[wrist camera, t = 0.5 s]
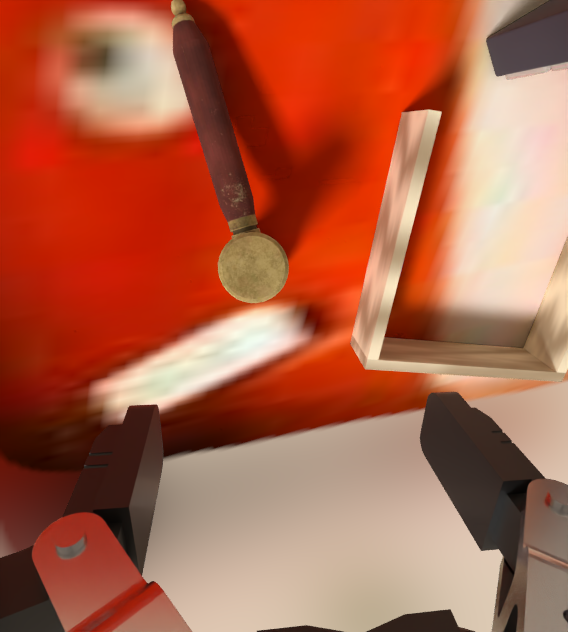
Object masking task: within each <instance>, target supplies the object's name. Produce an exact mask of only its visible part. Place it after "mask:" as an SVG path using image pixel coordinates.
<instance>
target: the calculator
mask: <svg viewBox="0 0 568 632" xmlns="http://www.w3.org/2000/svg"><path fill="white" fill-rule="evenodd" d="M486 42H487V46H488V49H489V53H490V56H491V60H492V64H493V67H494V71H495V74H496V76H502V75H506V79H507V80H510V79H515V78H520V77H525V76H531V75H536V74H541V73H545V72H547V71H549V70H551V69H552V71H557V70H563V69H568V0H549V1H548V2H546V3H544V4H543V5H541V6H539V7H538V8H536V9H534V10H533V11H531V12H529V13H528V14H526V15H525V16H523V17H521V18H520V19H518V20H516V21H515V22H513V23H511V24H510V25H508V26H506V27H505V28H503V29H501V30H500V31H498V32H496V33H495V34H493V35H491V36H490V37H488V38H487V40H486Z"/></svg>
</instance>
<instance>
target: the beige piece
mask: <svg viewBox="0 0 568 632" xmlns="http://www.w3.org/2000/svg"><path fill="white" fill-rule="evenodd" d="M441 113H442V112H440V111H435V110H429V109H428V110H420V111H411V112H402V115H401V119H400V124H399V128H398V133H397V137H396V142H395V146H394V151H393V155H392V160H391V164H390V169H389V173H388V177H387V182H386V186H385V191H384V195H383V200H382V204H381V209H380V213H379V218H378V222H377V227H376V231H375V236H374V240H373V244H372V249H371V253H370V258H369V262H368V267H367V271H366V276H365V280H364V285H363V289H362V294H361V298H360V303H359V307H358V311H357V316H356V320H355V325H354V329H353V334H352V338H351V343H350V344H351V346H352V347H353V349H354V351H355V353H356V354H357V356H358V358H359V359H360V361H361V363H362V365H363V366H364V368H365V369H371V370H386V371H401V372H417V373H432V374H447V375H463V376H478V377H494V378H509V379H524V380H540V381H555V382H562V380H563V378H564V376H565V374H566V372H567V369H568V237H567V240H566V242H565V245H564V247H563V250H562V252H561V255H560V257H559V260H558V262H557V265H556V267H555V270H554V272H553V275H552V277H551V280H550V283H549V285H548V288H547V290H546V293H545V295H544V298H543V300H542V303H541V305H540V308H539V310H538V313H537V315H536V318H535V320H534V323H533V325H532V328H531V330H530V333H529V335H528V338H527V340H526V343H525V345H524V348H515V347H502V346H490V345H477V344H464V343H452V342H439V341H426V340H414V339H401V338H388V337H384V336H385V332H386V328H387V324H388V320H389V316H390V312H391V308H392V305H393V301H394V297H395V293H396V289H397V285H398V281H399V277H400V273H401V269H402V265H403V262H404V258H405V254H406V250H407V246H408V242H409V238H410V234H411V230H412V226H413V222H414V219H415V215H416V211H417V207H418V203H419V199H420V195H421V191H422V187H423V183H424V179H425V176H426V172H427V168H428V164H429V160H430V156H431V152H432V148H433V144H434V140H435V136H436V133H437V129H438V125H439V121H440V117H441Z"/></svg>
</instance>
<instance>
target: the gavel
mask: <svg viewBox="0 0 568 632" xmlns="http://www.w3.org/2000/svg"><path fill="white" fill-rule="evenodd" d="M171 9H172V12H173V14H174V15H175V17H174V18H173V20H172V27H173V54H174V57H175V61H176V64H177V67H178V70H179V74H180V77H181V80H182V84H183V87H184V90H185V93H186V97H187V100H188V103H189V106H190V110H191V113H192V116H193V120H194V123H195V126H196V129H197V133H198V136H199V139H200V142H201V146H202V149H203V152H204V156H205V159H206V162H207V165H208V169H209V172H210V175H211V178H212V182H213V185H214V188H215V192H216V195H217V198H218V201H219V205H220V207H221V209H222V212H223V214H224V216H225V218H226V220H227V222H228V225H229V228H230V231H231V232H233V234H234V235H233V236H232V240H230V241H229V242H228V243H227V244H226V245H225V247H224V249H223V250H222V252H221V254H220V257H219V262H218V273H219V277H220V280H221V282H222V285H223V286H224V288H225V289H226V290H227V291H228V292H229V293H230V294H231V295H232V296H233V297H235V298H236V299H239V300H241V301H243V302H248V303H259V302H264V301H266V300H269V299H271V298H272V297H274V296H275V295H276V294H277V293H278V292H280V290H281V289H282V288H283V286H284V285H285V282H286V280H287V276H288V270H289V265H288V259H287V256H286V253H285V251H284V250H283V248H282V247H281V245H280V244H279V243H278V242H277V241H276V240H274V239H273V238H272V237H270V236H268V235H265V234H262V233H261V232H260V228H257V226H256V225H257V224H258V223H257V219H256V216H255V210H254V202H253V196H252V192H251V189H250V185H249V182H248V178H247V175H246V171H245V168H244V165H243V161H242V158H241V154H240V151H239V147H238V144H237V141H236V137H235V134H234V130H233V127H232V123H231V120H230V116H229V113H228V110H227V106H226V103H225V99H224V96H223V92H222V89H221V86H220V82H219V79H218V75H217V72H216V68H215V65H214V61H213V58H212V55H211V51H210V48H209V44H208V42H207V41H206V39H205V38H204V36H203V34H202V33H201V31H200V30H199V28H198V27H197V25H196V24H195V21H194V18H193V17H192V16H191V15H190V14H186V5H185V3H184V2H183V1H182V0H173V1H172V3H171Z"/></svg>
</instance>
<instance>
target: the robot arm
mask: <svg viewBox="0 0 568 632" xmlns="http://www.w3.org/2000/svg"><path fill="white" fill-rule="evenodd" d="M420 442H421V447H422V451H423V453H424V455H425V457H426V459H427V460H428V462H429V464H430V465H431V467H432V469H433V471H434V472H435V474H436V476H437V477H438V479H439V481H440V482H441V484H442V486H443V487H444V489H445V491H446V492H447V494H448V496H449V497H450V499H451V501H452V502H453V504H454V506H455V508H456V509H457V511H458V513H459V514H460V516H461V517H462V519H463V521H464V523H465V524H466V526H467V528H468V530H469V531H470V533H471V535H472V536H473V538H474V540H475V541H476V543H477V545H478V546H479V548H480V549H481V551H484V550H495V549H499V550H500V551H501V553H502V555H503V558H502V561H501V564H500V571H499V580H498V587H497V594H496V603H495V611H494V618H493V626H492V632H568V485H566V484H564V483H562V482H559V481H556V480H551V479H546V478H545V477H544V476H543V475H542V474H541V473H540V472H539V471H538V470H537V469H536V467H535V466H534V465H533V464H532V463H531V462H530V461H529V460H528V458H527V457H526V456H525V455H524V454H523V453H522V452H521V451H520V450H519V448H518V447H517V446H516V445H515V444H514V443H512V442H511V440H510V438H509V437H508V436H507V435H506V434H505V433H503V432H502V429H501V428H499V426H498V425H497V424H496V423H495V422H494V421H493V420H492V418H490V417H489V416H487V415H486V414H484V413H483V412H481V411H480V410H478V409H477V408H471V407H470V406H469V405H468V404H467V402H466V401H465V400H464V399H463V398H462V397H461V395H460V394H459V393H457V392H440V393H431V394H430V395H429V396H428V399H427V404H426V408H425V413H424V419H423V424H422V428H421V434H420ZM162 466H163V445H162V436H161V426H160V417H159V409H158V406H157V405H135V406H129V408H128V410H127V413H126V416H125V419H124V421H123V424H122V425H109V426H108V427H107V428H106V429H105V430H104V431H102V432H101V433H100V434H99V435H98V436H97V437H96V438H95V441H94V443H93V446H92V448H91V450H90V453H89V456H88V457H87V460H86V462H85V465H84V469H82V472H81V474H80V477H79V479H78V481H77V484H76V486H75V489H74V491H73V493H72V496H71V498H70V500H69V503H68V505H67V507H66V510H65V512H64V515H63V517H62V518H61V519H59V520H57V521H56V522H54V523H52V524H51V525H50V526H49V527H47V528H46V529H45V530H44V531H43V532H42V533H41V535H40V536H39V537H38V539H37V540H36V542H35V544H34V545H33V546H31V547H29V548H27V549H24V550H22V551H19V552H17V553H14V554H11V555H8V556H5V557H2V558H0V632H192V631H191V629H190V628H189V626H188V625H187V624H186V622H185V621H184V619H183V618H182V617H181V615H180V614H179V612H178V611H177V609H176V608H175V607H174V605H173V604H172V602H171V601H170V599H169V598H168V597H167V595H166V594H165V593H164V591H163V590H162V588H161V587H160V586H159V585H158V584H157V583H156V582H154V581H152V582H150V583H149V584H148V583H147V582H146V581H145V580H144V579H143V577H142V573H143V568H144V562H145V557H146V552H147V546H148V541H149V536H150V531H151V526H152V520H153V515H154V510H155V504H156V499H157V494H158V488H159V483H160V478H161V473H162ZM257 632H342V631H336V630H331V629H325V628H318V627H313V626H307V625H306V626H297V627H289V628H279V629H270V630H261V631H257ZM367 632H475V631H471V630H468V629H465V628H460V627H458V625H457V623H456V621H455V619H454V616H453V614H452V612H451V610H440V611H431V612H423V613H414V614H405V615H403V616H400V617H398V618H396V619H394V620H391V621H389V622H387V623H385V624H383V625H381V626H378V627H376V628H374V629H371V630H370V631H367Z"/></svg>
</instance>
